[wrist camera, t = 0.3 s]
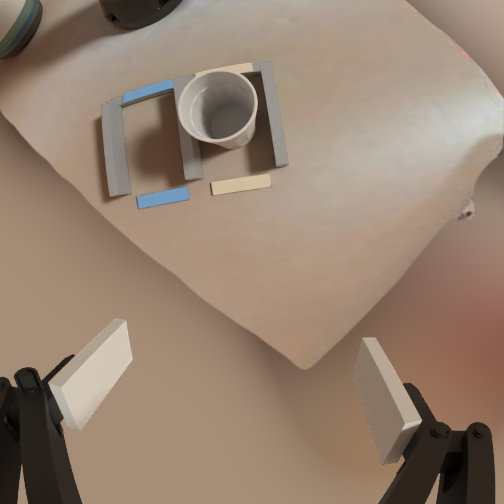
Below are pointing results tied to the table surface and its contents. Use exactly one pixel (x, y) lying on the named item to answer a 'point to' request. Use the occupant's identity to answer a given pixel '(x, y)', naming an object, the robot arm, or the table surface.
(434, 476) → the robot arm
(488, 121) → the table surface
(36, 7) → the vase
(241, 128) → the cup
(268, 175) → the parallel grey wall panels
